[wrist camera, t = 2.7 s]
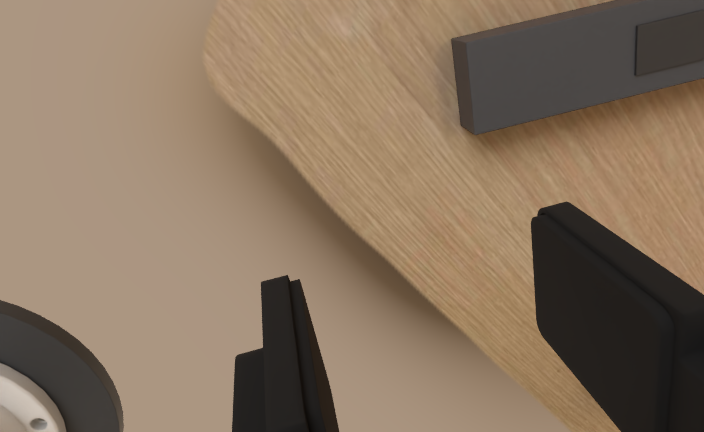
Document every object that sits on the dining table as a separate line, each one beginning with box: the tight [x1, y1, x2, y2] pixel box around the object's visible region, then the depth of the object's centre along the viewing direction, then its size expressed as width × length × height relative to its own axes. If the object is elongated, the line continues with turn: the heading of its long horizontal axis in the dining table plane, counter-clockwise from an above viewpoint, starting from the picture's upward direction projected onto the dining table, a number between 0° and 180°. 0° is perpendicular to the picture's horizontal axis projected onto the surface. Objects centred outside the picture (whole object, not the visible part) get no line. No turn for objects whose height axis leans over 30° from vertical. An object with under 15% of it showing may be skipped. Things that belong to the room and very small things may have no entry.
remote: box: [451, 0, 704, 135], centre depth 27 cm, size 16×4×2 cm, turn 101°
